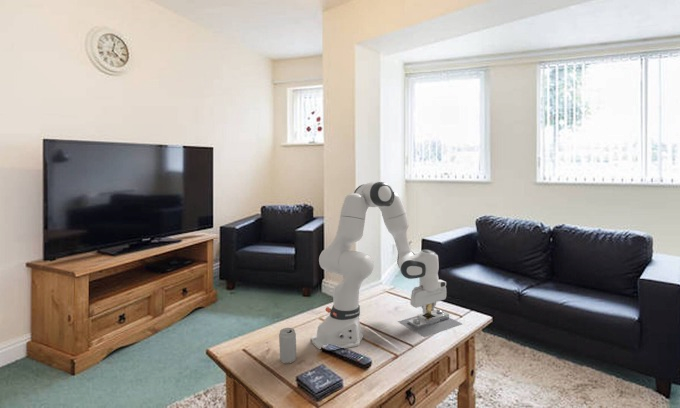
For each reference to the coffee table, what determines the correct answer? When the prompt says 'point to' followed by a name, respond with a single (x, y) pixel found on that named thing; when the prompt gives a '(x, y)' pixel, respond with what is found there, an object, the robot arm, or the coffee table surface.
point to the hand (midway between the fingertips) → (428, 311)
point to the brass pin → (429, 311)
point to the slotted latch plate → (423, 321)
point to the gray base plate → (431, 326)
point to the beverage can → (287, 345)
